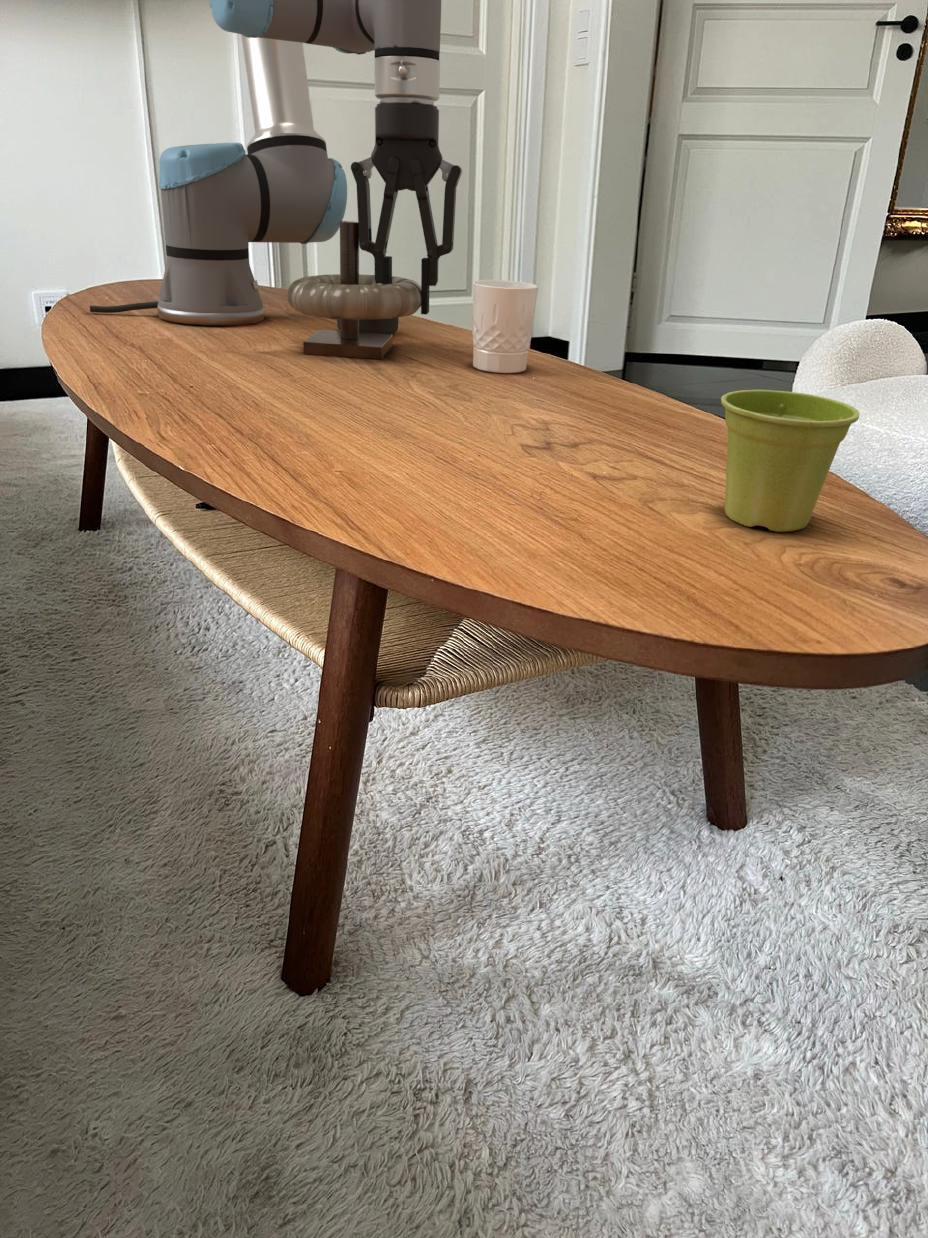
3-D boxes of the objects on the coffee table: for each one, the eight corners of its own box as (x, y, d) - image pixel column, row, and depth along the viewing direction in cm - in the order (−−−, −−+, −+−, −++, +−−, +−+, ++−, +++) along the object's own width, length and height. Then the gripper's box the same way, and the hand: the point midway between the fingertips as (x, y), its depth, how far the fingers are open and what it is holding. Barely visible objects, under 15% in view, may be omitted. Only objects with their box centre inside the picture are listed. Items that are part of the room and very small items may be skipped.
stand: (303, 353, 115) (300, 220, 108) (320, 340, 123) (318, 217, 117) (381, 359, 114) (383, 226, 107) (392, 345, 123) (395, 222, 116)
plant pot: (756, 548, 62) (783, 424, 58) (676, 503, 70) (695, 391, 66) (857, 535, 66) (889, 417, 62) (771, 493, 74) (794, 386, 70)
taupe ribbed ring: (275, 319, 109) (273, 283, 107) (305, 302, 124) (304, 271, 122) (415, 323, 108) (415, 288, 106) (428, 306, 123) (428, 275, 122)
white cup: (543, 370, 114) (551, 286, 109) (502, 377, 109) (509, 289, 104) (496, 359, 118) (502, 278, 114) (455, 365, 113) (459, 281, 109)
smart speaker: (350, 325, 136) (350, 297, 134) (406, 331, 134) (407, 303, 132) (327, 333, 128) (326, 304, 127) (385, 340, 126) (386, 310, 125)
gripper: (327, 97, 103) (334, 312, 113) (478, 102, 102) (471, 318, 112) (340, 103, 109) (345, 305, 120) (482, 107, 109) (474, 311, 119)
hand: (406, 311), depth 116 cm, fingers closed on taupe ribbed ring, 4 cm apart
